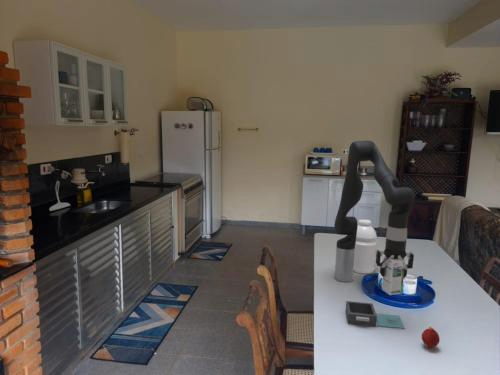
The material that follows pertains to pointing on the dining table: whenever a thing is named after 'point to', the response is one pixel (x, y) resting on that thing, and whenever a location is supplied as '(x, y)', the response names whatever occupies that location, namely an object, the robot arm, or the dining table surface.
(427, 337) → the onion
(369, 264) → the bottle
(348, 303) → the gray frame
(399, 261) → the syrup box
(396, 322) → the teal mat
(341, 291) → the dining table surface
